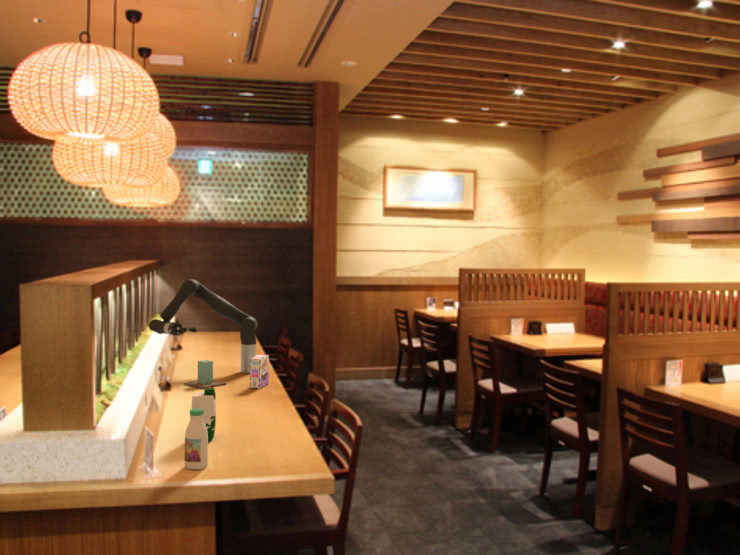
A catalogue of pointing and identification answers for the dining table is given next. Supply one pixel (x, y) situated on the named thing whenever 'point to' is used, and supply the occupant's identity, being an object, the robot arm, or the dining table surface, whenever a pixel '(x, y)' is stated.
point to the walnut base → (201, 386)
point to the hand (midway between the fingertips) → (189, 331)
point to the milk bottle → (196, 441)
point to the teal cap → (205, 372)
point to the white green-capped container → (207, 408)
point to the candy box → (259, 371)
